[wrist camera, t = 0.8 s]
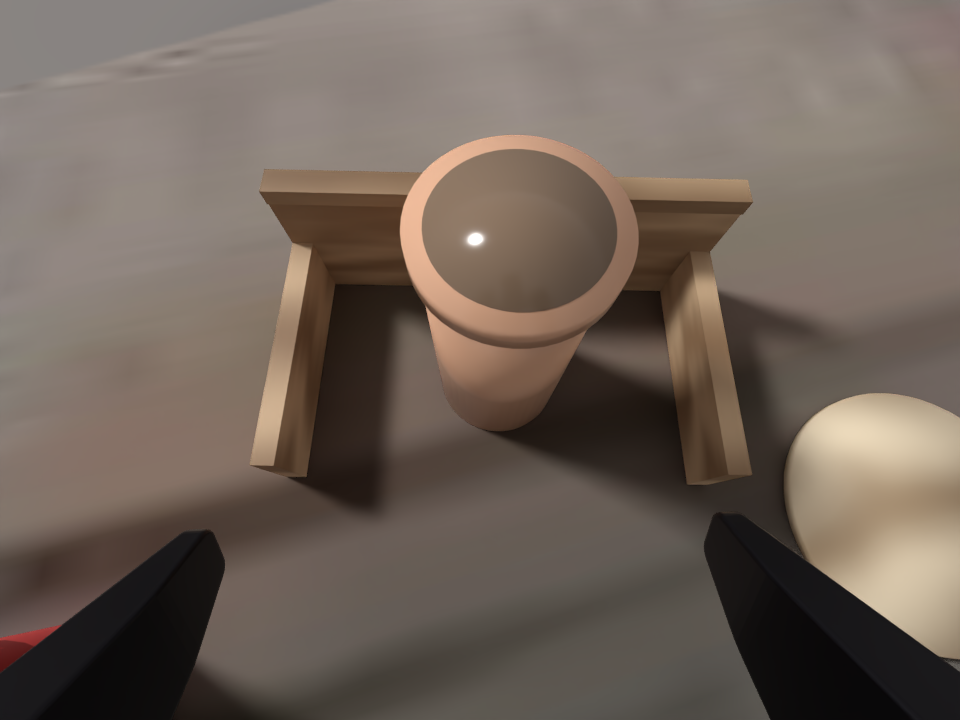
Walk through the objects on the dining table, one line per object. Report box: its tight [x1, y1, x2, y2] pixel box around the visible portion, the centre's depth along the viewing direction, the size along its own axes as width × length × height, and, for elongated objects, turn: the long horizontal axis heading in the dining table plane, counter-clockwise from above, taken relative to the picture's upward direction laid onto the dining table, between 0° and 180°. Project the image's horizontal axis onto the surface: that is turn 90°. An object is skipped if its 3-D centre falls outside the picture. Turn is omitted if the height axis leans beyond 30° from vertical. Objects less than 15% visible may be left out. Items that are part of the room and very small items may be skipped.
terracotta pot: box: [400, 135, 639, 431], centre depth 19 cm, size 7×7×13 cm
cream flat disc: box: [783, 393, 960, 659], centre depth 22 cm, size 12×12×1 cm
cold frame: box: [250, 169, 753, 485], centre depth 21 cm, size 12×21×8 cm, turn 89°
